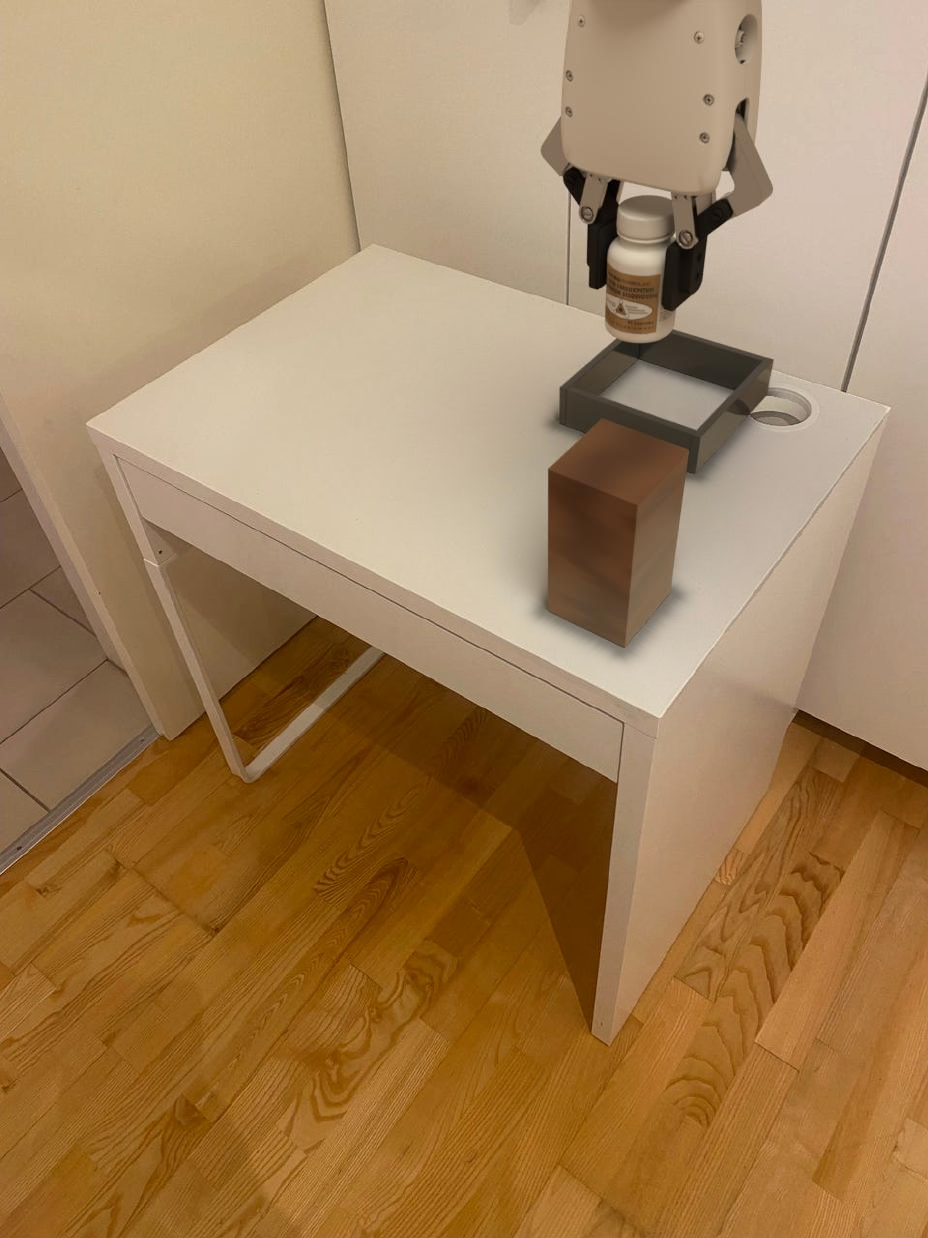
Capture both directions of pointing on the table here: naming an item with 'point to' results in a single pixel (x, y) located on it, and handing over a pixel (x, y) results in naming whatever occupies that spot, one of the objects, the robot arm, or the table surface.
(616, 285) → the pill bottle
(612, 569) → the display block
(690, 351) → the tray
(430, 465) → the table surface
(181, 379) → the table surface
